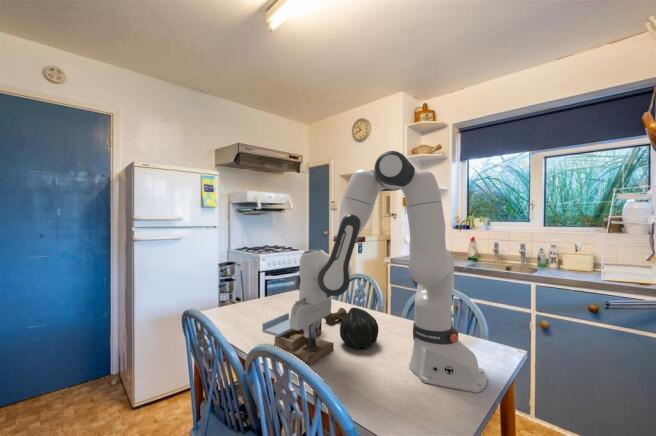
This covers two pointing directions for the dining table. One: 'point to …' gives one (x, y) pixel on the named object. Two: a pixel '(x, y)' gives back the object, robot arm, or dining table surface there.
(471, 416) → the dining table surface
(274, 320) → the lid
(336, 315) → the brown rope toy
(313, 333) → the jaw peg
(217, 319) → the dining table surface
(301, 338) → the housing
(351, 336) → the squash
